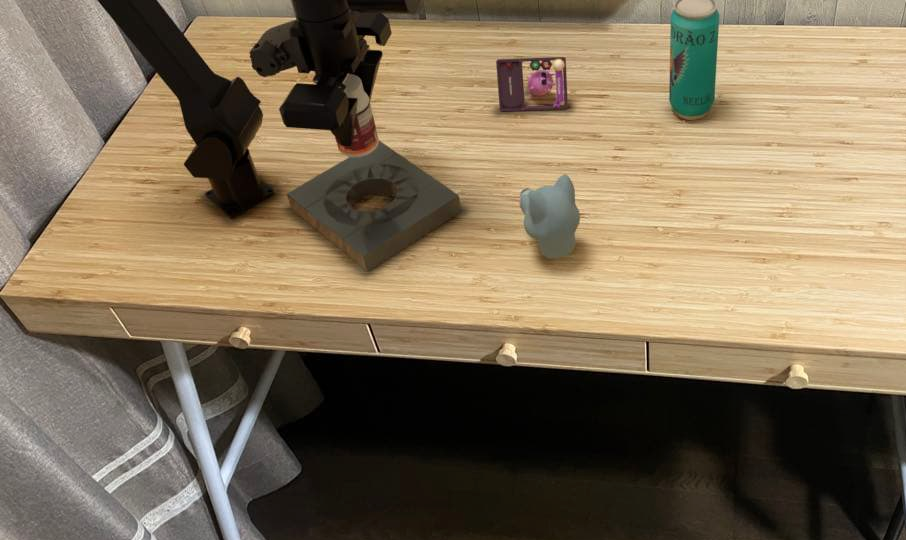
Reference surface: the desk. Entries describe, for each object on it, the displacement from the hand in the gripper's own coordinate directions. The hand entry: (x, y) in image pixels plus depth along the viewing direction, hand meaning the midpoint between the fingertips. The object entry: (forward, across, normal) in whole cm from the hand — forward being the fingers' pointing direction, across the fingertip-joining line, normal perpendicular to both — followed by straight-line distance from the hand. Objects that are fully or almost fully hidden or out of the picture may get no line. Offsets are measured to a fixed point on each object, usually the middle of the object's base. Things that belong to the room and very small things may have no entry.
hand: (354, 131), depth 115 cm
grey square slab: (+11, +1, +1) cm, 11 cm away
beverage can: (+11, -23, +36) cm, 44 cm away
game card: (+11, -23, +15) cm, 30 cm away
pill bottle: (+2, 0, 0) cm, 2 cm away
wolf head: (+11, +4, +23) cm, 26 cm away
